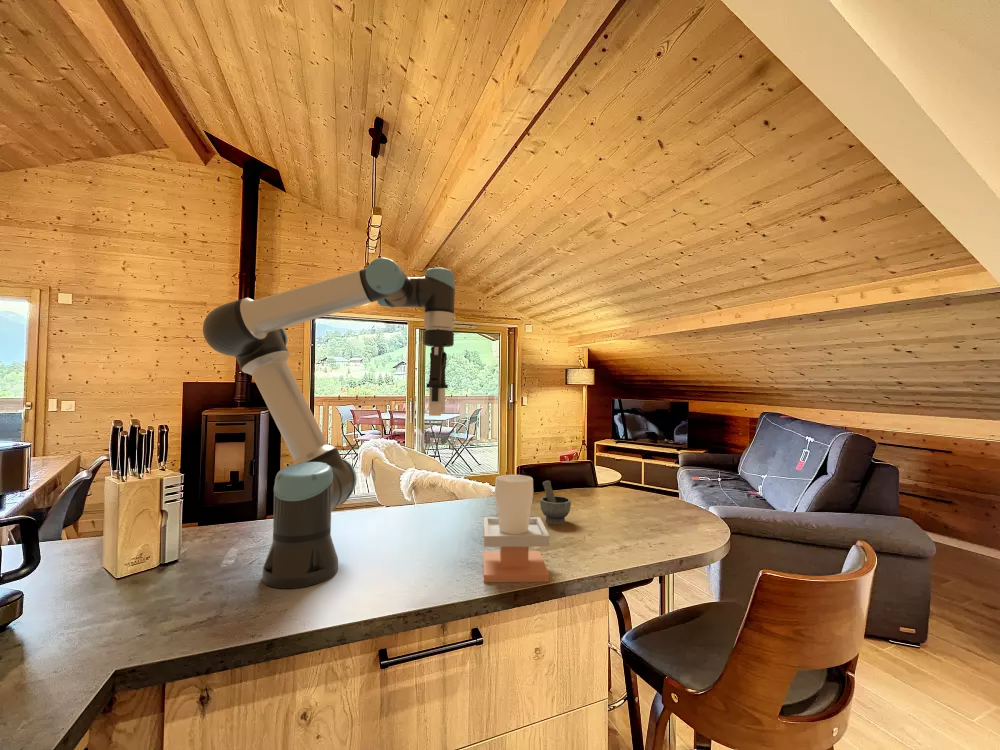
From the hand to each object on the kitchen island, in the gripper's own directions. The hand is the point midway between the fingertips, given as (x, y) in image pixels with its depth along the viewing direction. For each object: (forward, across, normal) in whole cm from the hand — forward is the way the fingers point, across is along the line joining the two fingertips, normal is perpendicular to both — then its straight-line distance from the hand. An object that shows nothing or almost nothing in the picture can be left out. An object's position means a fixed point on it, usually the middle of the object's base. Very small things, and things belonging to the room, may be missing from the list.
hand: (437, 414), depth 111 cm
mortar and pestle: (+35, +27, -35) cm, 56 cm away
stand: (+35, -10, -19) cm, 41 cm away
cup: (+26, -9, -19) cm, 34 cm away
